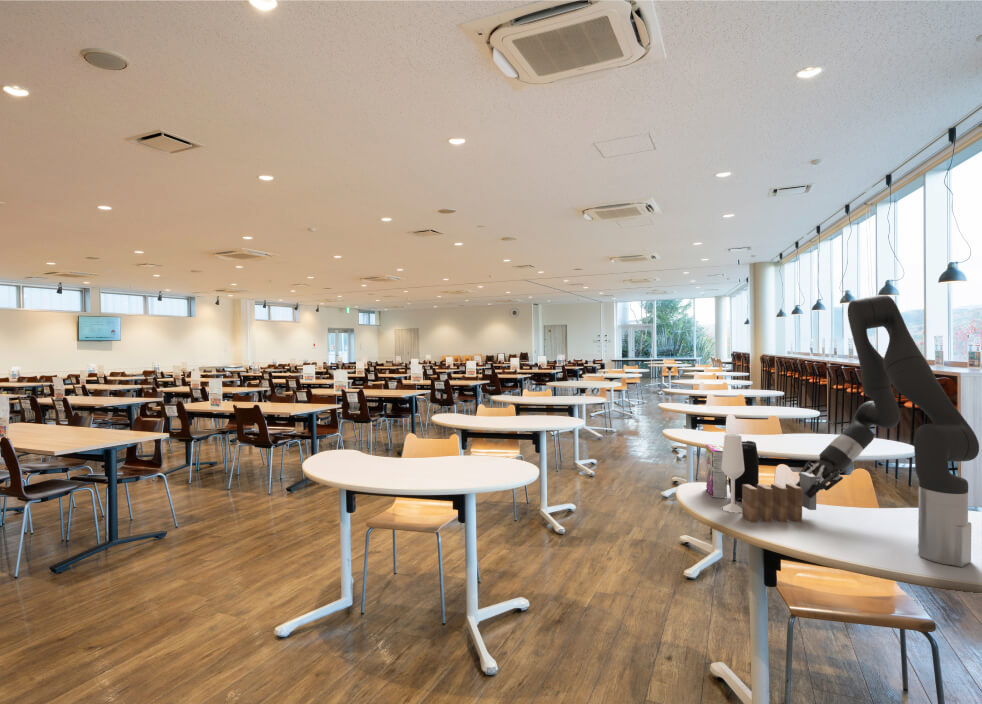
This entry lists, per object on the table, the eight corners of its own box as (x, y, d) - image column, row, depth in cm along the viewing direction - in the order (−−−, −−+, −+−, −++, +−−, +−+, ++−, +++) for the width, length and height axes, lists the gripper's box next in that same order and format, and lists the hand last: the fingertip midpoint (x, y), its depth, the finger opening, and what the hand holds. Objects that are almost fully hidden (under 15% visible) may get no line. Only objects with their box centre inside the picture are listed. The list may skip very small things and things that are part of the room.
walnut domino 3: (777, 516, 160) (777, 483, 160) (787, 521, 155) (787, 488, 155) (771, 516, 160) (771, 483, 160) (780, 521, 155) (780, 488, 155)
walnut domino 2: (763, 516, 160) (763, 484, 160) (772, 522, 155) (772, 488, 155) (756, 516, 160) (756, 484, 160) (765, 522, 155) (765, 488, 155)
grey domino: (805, 504, 161) (805, 472, 160) (816, 509, 156) (816, 476, 155) (799, 504, 161) (799, 472, 160) (809, 509, 156) (809, 476, 155)
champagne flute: (716, 508, 168) (716, 434, 168) (730, 504, 172) (730, 432, 171) (735, 514, 162) (735, 437, 162) (749, 510, 166) (749, 435, 165)
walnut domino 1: (748, 516, 160) (748, 484, 160) (757, 522, 155) (757, 488, 155) (742, 516, 160) (742, 484, 160) (750, 522, 155) (750, 489, 155)
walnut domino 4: (791, 515, 160) (792, 483, 160) (802, 521, 155) (802, 488, 155) (785, 516, 160) (785, 483, 160) (795, 521, 155) (795, 488, 155)
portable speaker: (723, 496, 181) (723, 440, 180) (747, 494, 183) (747, 439, 182) (739, 503, 172) (739, 444, 172) (764, 502, 174) (764, 443, 174)
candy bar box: (705, 489, 190) (705, 444, 190) (719, 489, 189) (719, 444, 189) (711, 498, 179) (711, 450, 179) (727, 498, 178) (727, 451, 178)
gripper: (816, 439, 165) (779, 478, 165) (849, 449, 151) (808, 491, 151) (833, 456, 165) (795, 494, 165) (867, 467, 151) (826, 509, 151)
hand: (801, 493), depth 158 cm, fingers closed on grey domino, 5 cm apart
